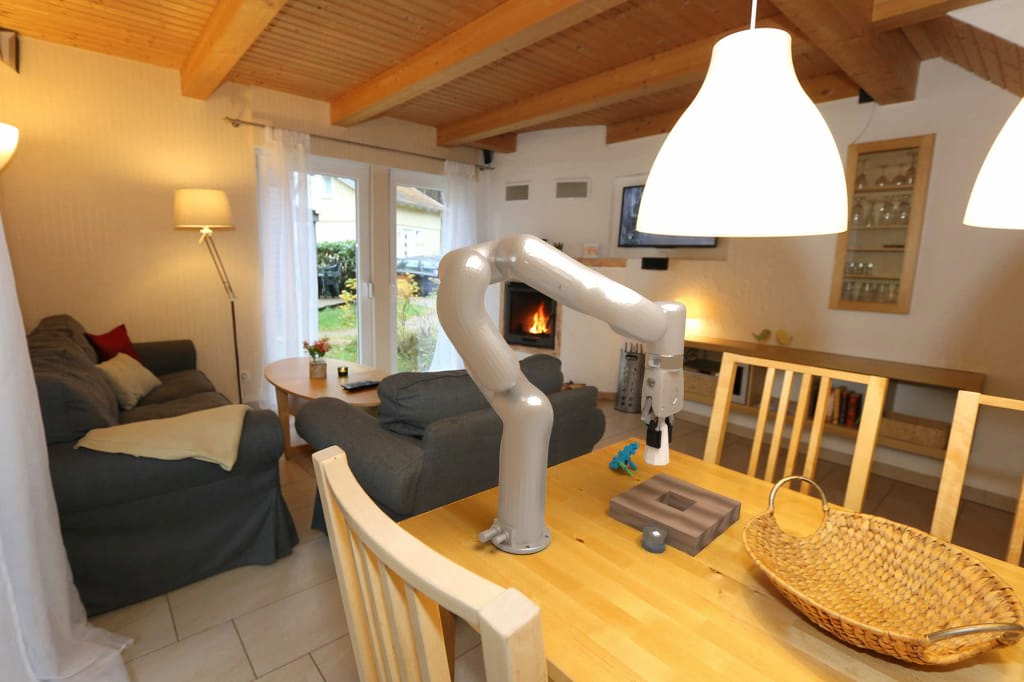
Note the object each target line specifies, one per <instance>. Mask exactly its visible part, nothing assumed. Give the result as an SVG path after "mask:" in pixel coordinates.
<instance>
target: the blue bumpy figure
mask: <svg viewBox="0 0 1024 682" xmlns="http://www.w3.org/2000/svg"><path fill="white" fill-rule="evenodd" d="M639 448H640V446H639V443H638V442H637V441H635V442H630V443H629V444H627V445H624V446H623V449H622V450H621V449H619V451H617V456H616V455H614V456H613V457H611V458H612V460H611V461H609V467H610V469H611V470H613V469H616V470H617V469H618V468H619V466H620V467H621V470H622V471H624V472H625V471H626V473H627V474H628V475H629V476H630V477H633V476H634V474H633V473H632V472H631V470H630V469H629V467H630V466H631V468H632V469H633V470H634V471H636V470H637V469H638V467H637V465H636V464H635V463H634V462H633V461H632V460H631V459H632V457H631V456H632V455H633V456H634V455H635V454H636V453H637V450H639Z"/></svg>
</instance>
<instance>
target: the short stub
mask: <svg viewBox="0 0 1024 682" xmlns="http://www.w3.org/2000/svg"><path fill="white" fill-rule="evenodd" d="M666 540H667V529H666V528H665V527H664V526H663V525H660V524H657V523H647V524H645V525H644V527H643V532H642V540H641V541H642V542H641V548H643V550H645V551H646V552H648V553H650V554H655V555H657V554H658V555H659V554H663V553H665V551H666V549H667V544H666Z"/></svg>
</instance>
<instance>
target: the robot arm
mask: <svg viewBox="0 0 1024 682" xmlns="http://www.w3.org/2000/svg"><path fill="white" fill-rule="evenodd" d="M437 267H438V268H437V276H438V279H439V285H438V288H437V291H436V301H435V302H436V303H435V305H436V315H437V319H438V322H439V324H440V326H441V328H442V330H443V332H444V334H445V335H446V337H447V338H448V340H449V342H450V343H451V344H452V346H453V347H454V349H455V351H456V353H457V354H458V355H459V357H460V358H461V360H462V362H463V367H464V369H465V371H466V372H467V374H468V375H469V377H470V378H471V380H472V381H473V383H474V384H475V385H476V387H477V388H478V389H479V391H480V392H481V394H483V396H484V398H485V399H486V401H487V402H488V404H490V406H491V407H492V409H493V410H494V411H495V412H496V414H497V415H498V417H500V420H501V421H502V423H503V425H502V426H503V429H502V435H501V439H500V440H501V441H500V446H499V447H500V448H499V460H498V461H499V469H498V497H497V499H498V500H497V517H495V518H493V524H491V526H490V528H489V529H486V530H483V531H480V533H478V538H479V541H480V542H481V543H487V542H488V541H490V542H491V543H492V544H493V545H494V546H495V548H498V549H499V550H502V551H504V552H506V553H507V552H508V553H509V554H510V553H511V554H517V555H526V554H527V555H529V554H534V553H537V552H541V551H543V550H545V548H547V547H548V546H549V544H550V543H551V541H552V531H551V529H550V527H549V526H548V525H547V524H546V523H545V518H546V517H545V515H546V514H545V513H546V496H547V494H546V493H547V475H548V457H549V455H548V454H549V448H550V447H549V446H550V439H551V434H552V431H553V424H554V410H553V406H552V404H551V402H550V399H549V398H548V397H547V396H546V394H545V393H544V392H543V391H541V389H539V388H538V387H537V386H536V385H534V384H533V383H531V382H530V381H529V379H528V378H527V377H526V375H525V374H524V372H523V371H522V370H521V365H520V360H519V358H518V356H517V354H516V353H515V351H514V350H513V349H512V347H511V346H510V345H509V344H508V342H507V341H506V340H505V338H504V337H503V335H502V334H501V332H500V331H499V330H498V328H497V327H496V325H495V323H494V321H493V320H492V318H491V317H490V316H489V313H488V312H487V309H486V305H485V297H486V291H487V289H488V287H489V286H491V285H494V284H497V283H501V282H504V281H508V280H511V279H516V280H518V281H520V282H522V283H524V284H526V285H527V286H528V287H531V288H533V289H535V290H536V291H538V292H540V293H541V294H543V295H544V296H547V297H549V298H551V299H552V300H554V301H555V302H557V303H559V304H560V305H562V306H564V307H567V308H568V309H571V310H573V311H575V312H577V313H581V314H584V315H586V316H590V317H593V318H595V319H598V320H600V321H603V322H604V323H606V324H607V325H608V326H609V328H610V330H611V331H613V333H615V334H616V335H619V336H621V337H623V338H627V339H629V340H633V341H636V342H639V343H642V344H645V358H644V359H645V360H644V361H645V362H644V368H645V371H644V375H643V376H644V377H643V384H642V389H641V391H642V392H641V398H640V399H641V402H640V406H641V407H640V408H641V413H642V415H641V417H640V421H642V422H643V423H644V424H645V428H646V435H645V436H646V439H645V446H646V445H647V446H650V447H653V448H656V449H660V448H661V437H662V431H661V430H660V426H661V419H663V418H665V423H666V424H667V428H668V444H671V443H673V442H672V440H673V425H674V424H675V416H676V414H677V413H679V412H681V411H682V410H683V408H684V399H685V398H684V397H685V396H684V395H685V393H684V392H685V390H684V389H685V386H684V385H685V381H684V380H685V378H684V376H685V375H684V369H683V366H684V354H685V353H684V352H685V350H684V349H685V340H686V339H685V337H686V336H685V335H686V324H687V322H686V321H687V307H686V305H685V304H684V303H682V302H679V301H673V300H657V301H651V300H649V299H648V298H646V297H645V296H643V295H642V294H639V293H638V292H636V291H634V290H633V289H631V288H629V287H627V286H625V285H623V284H621V283H619V282H617V281H615V280H613V279H611V278H609V277H607V276H606V275H603V274H602V273H601V272H598V271H595V270H594V269H592V268H590V267H588V266H587V265H585V264H583V263H581V262H579V260H577V259H575V258H573V257H571V256H569V255H567V254H566V253H565V252H562V251H561V250H560V249H558V248H556V247H555V246H553V245H552V244H550V243H548V242H546V241H545V240H543V239H541V238H539V237H537V236H536V235H534V234H529V233H518V234H510V235H506V236H504V237H499V238H497V239H493V240H489V241H485V242H480V243H475V244H472V245H469V246H464V247H460V248H459V247H458V248H456V249H452V250H450V251H449V252H447V253H446V254H444V255H443V256H442V257H441V259H440V261H439V263H438V266H437ZM652 412H654V414H652ZM652 418H656V422H655V421H654V420H653V419H652Z"/></svg>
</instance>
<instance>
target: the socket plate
mask: <svg viewBox="0 0 1024 682" xmlns="http://www.w3.org/2000/svg"><path fill="white" fill-rule="evenodd" d="M741 507H742V502H741V501H739V500H736V499H733V498H731V497H728V496H725V495H723V494H720V493H717V492H714V491H712V490H709V489H706V488H705V487H702V486H698V485H696V484H693V483H690V482H687V481H686V480H682V479H679V478H677V477H674V476H671V475H669V474H666V473H664V472H659V473H656V475H653V476H651V477H649V478H648V479H646V480H644V481H642V482H640V483H639V484H636V485H634V486H632V487H630V488H629V489H627V490H625V491H623V492H621V493H620V494H618V495H616V496H614V497H612V498H611V499H609V507H608V517H609V518H612V519H614V520H616V521H618V522H620V523H622V524H624V525H626V526H628V527H631V528H633V529H635V530H636V531H639V532H641V533H643V527H644V525H645V524H647V523H657V524H660V525H663V526H664V527H665V528H666V529H667V540H666V545H669V546H670V547H673V548H675V549H676V550H678V551H681V552H682V553H685V554H687V555H690V556H691V557H693V558H694V557H696V555H698V554H699V553H700V552H701V551H703V550H704V549H705V548H706V547H707V546H708V545H710V544H711V543H712V542H714V540H716V539H717V538H718V537H719V536H720V535H723V533H724V532H725V531H726V530H728V529H729V528H730V527H731V526H733V525H735V523H736V522H737V521H739V520H740V516H741Z"/></svg>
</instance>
